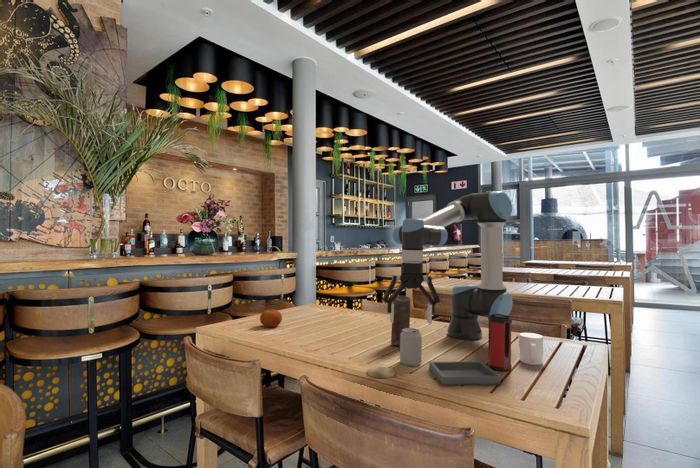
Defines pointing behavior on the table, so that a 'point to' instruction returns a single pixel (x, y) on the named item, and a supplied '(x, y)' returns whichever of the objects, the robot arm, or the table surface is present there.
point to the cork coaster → (381, 372)
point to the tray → (463, 373)
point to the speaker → (499, 342)
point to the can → (410, 347)
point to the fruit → (271, 318)
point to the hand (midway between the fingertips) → (410, 322)
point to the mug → (531, 348)
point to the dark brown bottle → (400, 318)
